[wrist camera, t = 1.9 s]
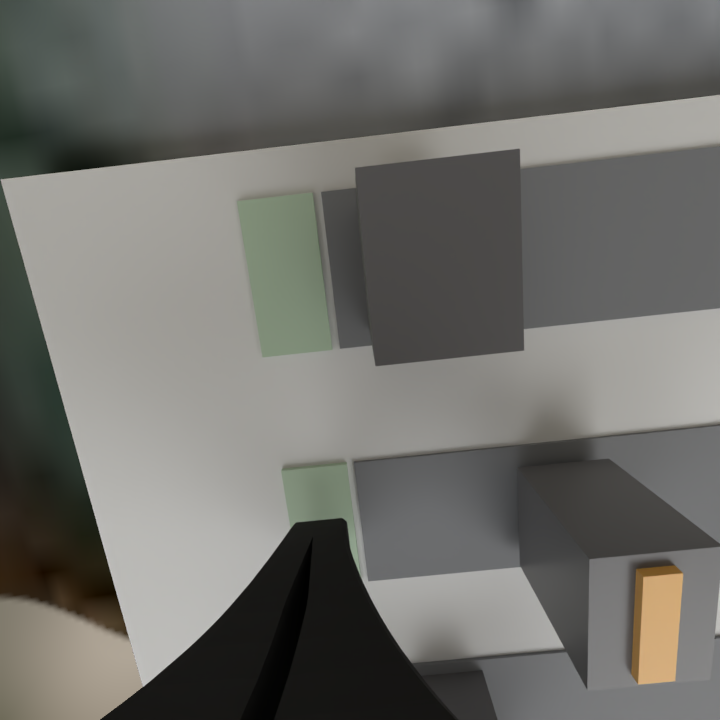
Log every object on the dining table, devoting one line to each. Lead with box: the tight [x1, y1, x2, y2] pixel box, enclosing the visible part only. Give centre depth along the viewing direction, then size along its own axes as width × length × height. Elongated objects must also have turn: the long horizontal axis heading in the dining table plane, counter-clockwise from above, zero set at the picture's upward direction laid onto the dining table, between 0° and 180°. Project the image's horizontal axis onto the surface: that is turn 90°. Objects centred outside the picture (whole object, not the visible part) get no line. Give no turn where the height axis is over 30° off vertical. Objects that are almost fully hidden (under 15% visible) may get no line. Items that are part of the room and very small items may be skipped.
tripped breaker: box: [517, 458, 720, 691], centre depth 9 cm, size 3×2×4 cm
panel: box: [1, 95, 720, 720], centre depth 10 cm, size 20×26×6 cm
